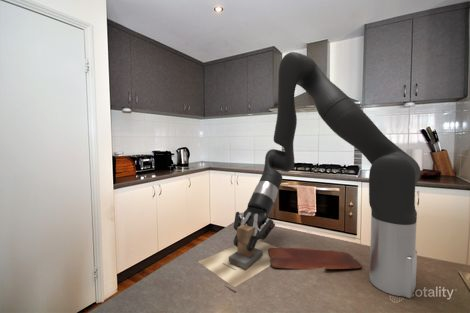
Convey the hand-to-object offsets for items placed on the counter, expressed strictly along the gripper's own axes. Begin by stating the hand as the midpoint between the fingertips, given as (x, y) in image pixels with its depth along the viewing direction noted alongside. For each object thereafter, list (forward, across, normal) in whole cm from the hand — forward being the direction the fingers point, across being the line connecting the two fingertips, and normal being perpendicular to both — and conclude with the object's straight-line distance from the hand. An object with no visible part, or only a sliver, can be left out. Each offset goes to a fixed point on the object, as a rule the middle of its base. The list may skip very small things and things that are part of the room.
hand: (242, 247), depth 65 cm
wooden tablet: (-6, +16, +14) cm, 22 cm away
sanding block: (+2, 0, +4) cm, 4 cm away
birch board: (+2, -1, +6) cm, 7 cm away
